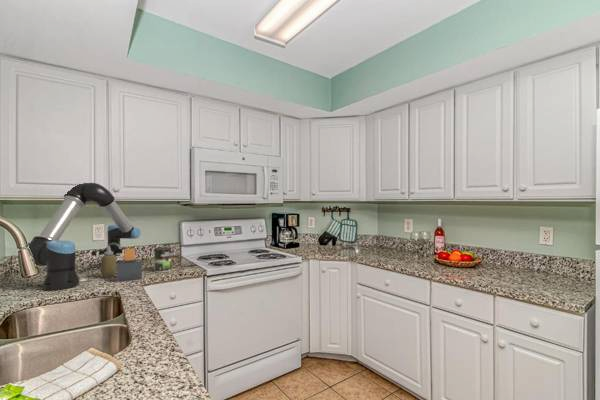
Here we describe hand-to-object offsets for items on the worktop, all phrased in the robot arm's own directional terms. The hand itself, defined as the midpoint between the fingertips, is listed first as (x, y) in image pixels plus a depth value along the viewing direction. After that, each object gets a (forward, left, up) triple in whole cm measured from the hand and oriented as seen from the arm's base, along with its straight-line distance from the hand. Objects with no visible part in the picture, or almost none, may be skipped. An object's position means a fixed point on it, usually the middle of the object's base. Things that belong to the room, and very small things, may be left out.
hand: (110, 254), depth 185 cm
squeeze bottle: (0, -9, -12) cm, 15 cm away
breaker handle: (+11, -23, -1) cm, 26 cm away
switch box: (+11, -21, -12) cm, 26 cm away
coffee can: (+29, -8, -12) cm, 32 cm away
